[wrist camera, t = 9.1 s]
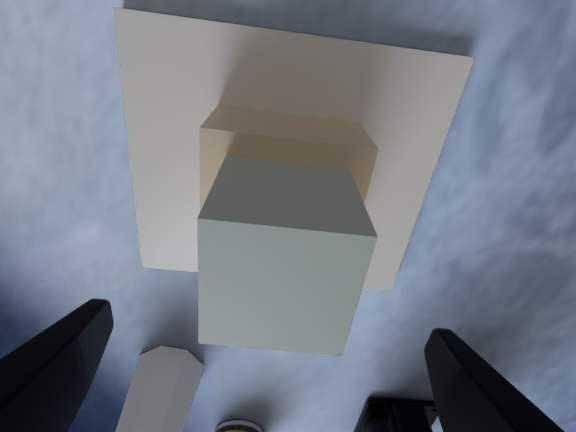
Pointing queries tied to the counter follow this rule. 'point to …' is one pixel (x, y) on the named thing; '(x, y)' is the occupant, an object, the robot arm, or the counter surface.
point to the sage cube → (281, 256)
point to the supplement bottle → (238, 426)
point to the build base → (280, 82)
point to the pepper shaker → (161, 391)
